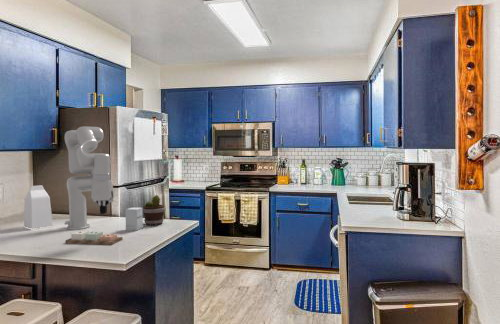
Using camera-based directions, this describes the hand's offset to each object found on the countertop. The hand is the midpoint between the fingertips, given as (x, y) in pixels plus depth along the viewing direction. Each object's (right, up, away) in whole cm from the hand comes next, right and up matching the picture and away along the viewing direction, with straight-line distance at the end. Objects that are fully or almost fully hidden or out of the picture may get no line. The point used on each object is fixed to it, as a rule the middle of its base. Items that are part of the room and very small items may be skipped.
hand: (103, 213), depth 183 cm
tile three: (+3, -14, 0) cm, 15 cm away
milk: (-57, -15, +39) cm, 70 cm away
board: (-5, -15, +1) cm, 16 cm away
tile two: (-5, -13, +1) cm, 14 cm away
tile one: (-13, -13, +3) cm, 19 cm away
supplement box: (+7, -14, +29) cm, 33 cm away
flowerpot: (+14, -13, +44) cm, 48 cm away
